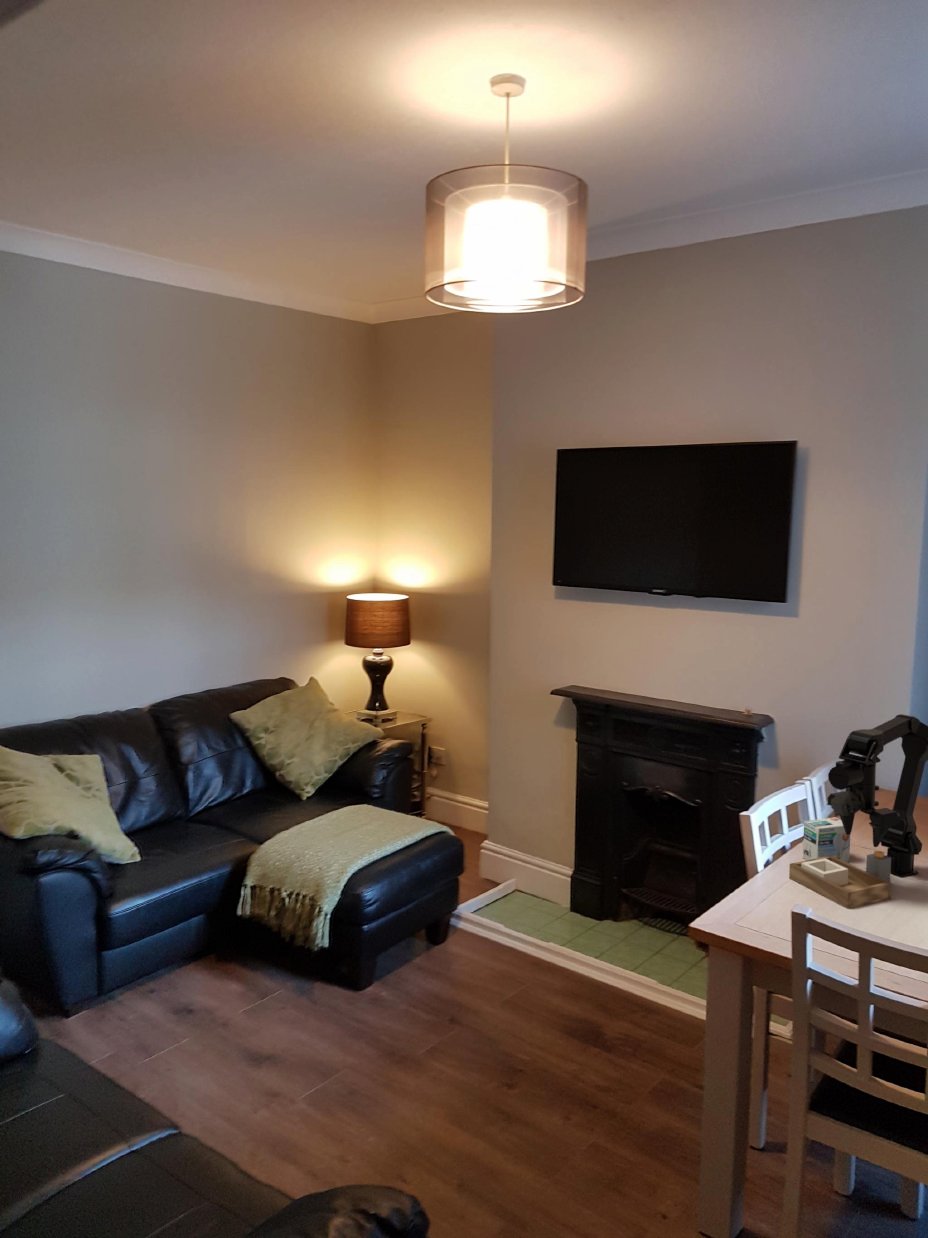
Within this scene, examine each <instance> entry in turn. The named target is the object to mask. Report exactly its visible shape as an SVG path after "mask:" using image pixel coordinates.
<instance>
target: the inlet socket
mask: <svg viewBox="0 0 928 1238" xmlns="http://www.w3.org/2000/svg"><path fill="white" fill-rule="evenodd" d="M801 867H802V868H804V869H806V870H808V871H810V872H812V873H814V874H816V875H818V876H820V877H822V878H824V879H826V880H828V881H830V882H832V883H834V884H836V885H838V886H841V885H846V884H848V869H847V868H845V867H843V866H840V865H838V864H836V863H834V862H832V861H830V860H828V859H826V858H825V859H819V860H814V861H809V862H804V863H801Z"/></svg>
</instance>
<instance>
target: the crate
mask: <svg viewBox="0 0 928 1238" xmlns="http://www.w3.org/2000/svg"><path fill="white" fill-rule="evenodd" d="M825 858H826V859H828V860H830V861H832V862H834V863H836V864H838V865H840V866H843V867H845V868H847V869H848V884H846V885H841V886H838V885H836V884H834V883H832V882H830V881H828V880H826V879H824V878H822V877H820V876H818V875H816V874H814V873H812V872H810V871H808V870H806V869H804V868H802V867H801V863H804V862H809V861H814V860H819V859H825ZM788 872H789V873H788V874H789V875H788V876H789V880H791V881H793V882H796V883H797V884H799V885H801V886H803V887H805V888H807V889H809V890H811V891H813V892H815V893H817V894H818V895H821V896H822V897H824V898H826V899H828V900H830V901H831V902H833V903H836V904H838V905H840V906H842V907H843V908H845V909H851V908H855V907H860V906H866V905H870V904H873V903H878V902H882V901H887V900H891V899H892V882H890V883H889V882H887V881H885V880H883V879H881V878H879V877H876V876H874V875H872V874H870V873H868V872H866V870H864V869H862V868H860V867H859V868H858V867H856V866H854V865H852V864H850V863H849V862H848V863H846V862H844V861H842V860H840V859H837V858H835V857H833V856H827V857H822V858H817V859H812V860H806V859H805V860H803V861H797V862H791V863H789V871H788Z"/></svg>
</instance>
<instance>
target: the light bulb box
mask: <svg viewBox="0 0 928 1238" xmlns="http://www.w3.org/2000/svg"><path fill="white" fill-rule="evenodd" d="M802 840H803V842H802V843H803V844H802V845H803V846H802V848H803V849H802V858H803V859H804V860H805V861H806V860H812V859H817V858H822V857H827V856H833V857H835V858H837V859H840V860H842V861H844V862H846V863H848V864H849V863H850V852H851V851H850V849H851V848H850V847H851V834H850V835H846V832H845V829H844V826H843V824H842V821H841V818H840V819H839V818H838V817H828V818H818V819H812V820H811V819H810V820H804V821H803V839H802Z"/></svg>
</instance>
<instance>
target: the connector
mask: <svg viewBox="0 0 928 1238" xmlns="http://www.w3.org/2000/svg"><path fill="white" fill-rule="evenodd" d="M865 871H866V872H868V873H870V874H872V875H874V876H876V877H879V878H881V879H883V880H885V881H887V882H889V883H891V874H892V873H891V858H890V857H888V856H886V854H885V852H883V851H880V850H874V851H873V853H870V854H866V868H865Z"/></svg>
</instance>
